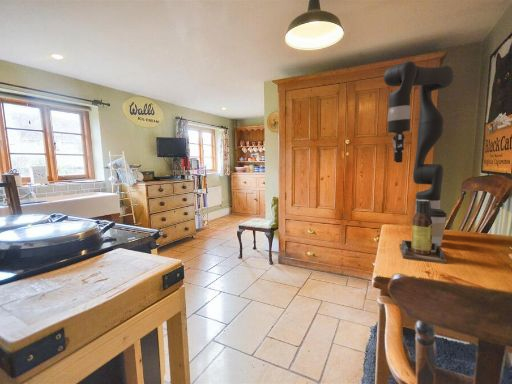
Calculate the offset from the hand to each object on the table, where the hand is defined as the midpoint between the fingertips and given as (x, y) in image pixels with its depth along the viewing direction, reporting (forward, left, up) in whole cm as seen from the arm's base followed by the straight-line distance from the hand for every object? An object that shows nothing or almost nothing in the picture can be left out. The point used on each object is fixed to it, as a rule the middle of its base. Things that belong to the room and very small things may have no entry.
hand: (398, 161), depth 98 cm
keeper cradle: (+6, +9, -35) cm, 36 cm away
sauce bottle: (+6, +8, -34) cm, 36 cm away
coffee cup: (-10, +15, -35) cm, 39 cm away
